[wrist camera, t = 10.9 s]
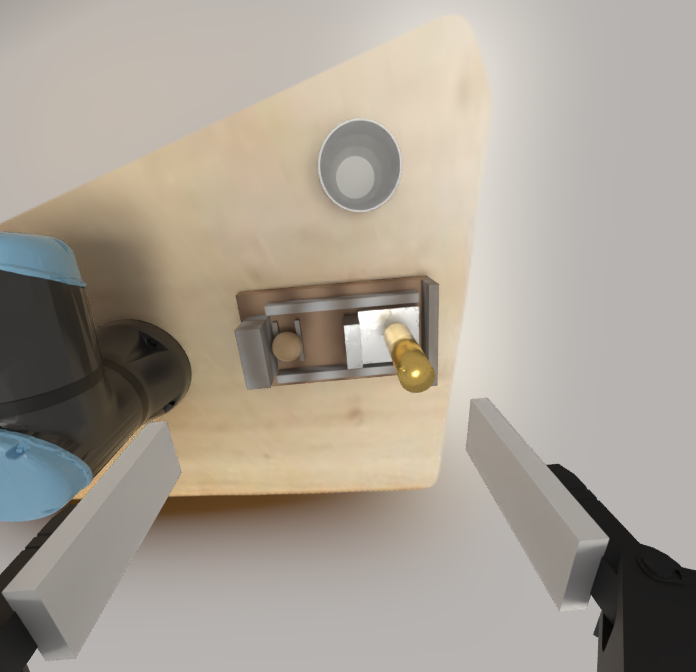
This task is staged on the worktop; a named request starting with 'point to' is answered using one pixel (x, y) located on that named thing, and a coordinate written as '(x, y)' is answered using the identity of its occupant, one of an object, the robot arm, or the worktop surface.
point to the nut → (287, 346)
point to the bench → (325, 328)
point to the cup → (360, 165)
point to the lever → (389, 343)
